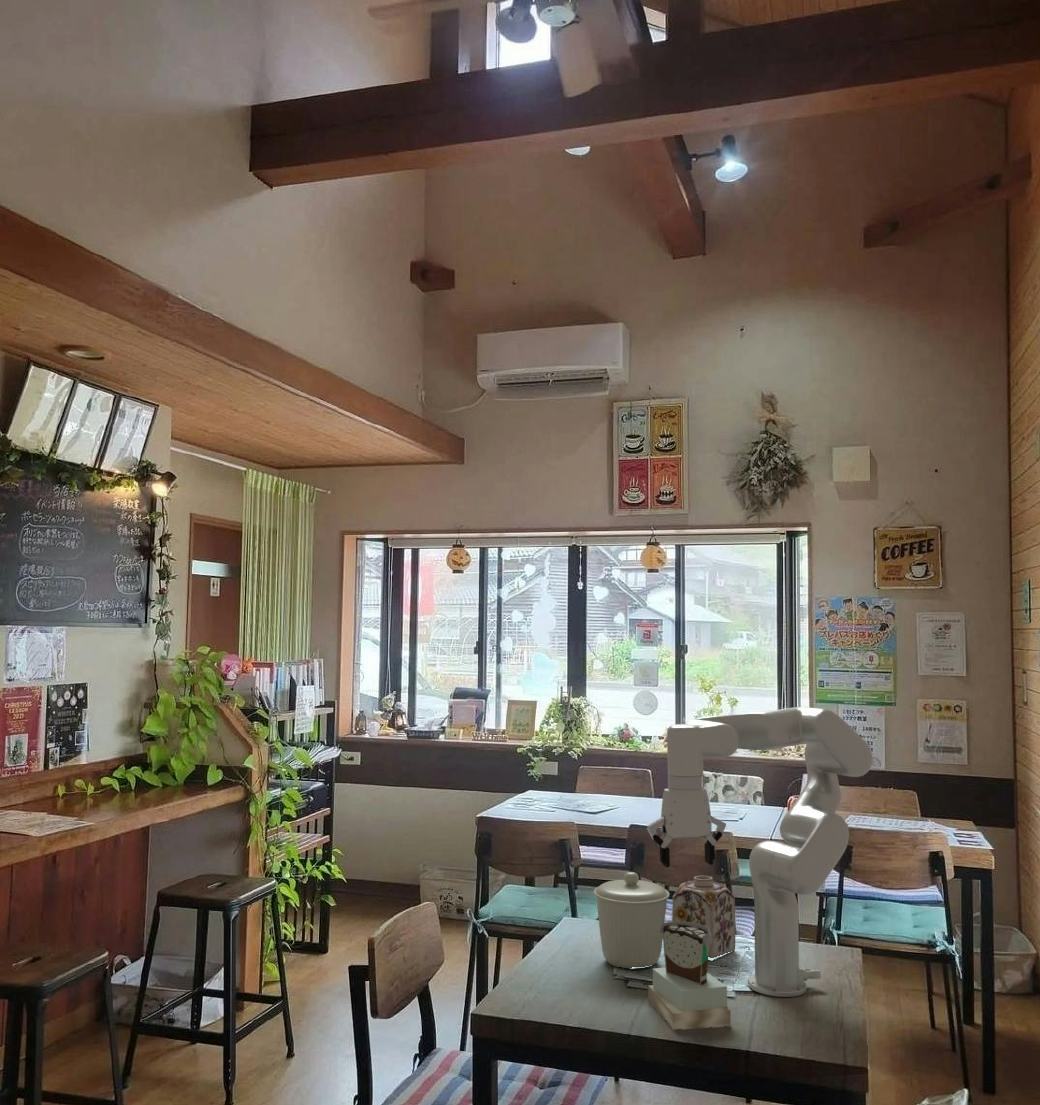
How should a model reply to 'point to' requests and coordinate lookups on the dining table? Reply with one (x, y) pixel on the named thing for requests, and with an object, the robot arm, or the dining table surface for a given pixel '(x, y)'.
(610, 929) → the canister
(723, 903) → the decorative jar
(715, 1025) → the lower slab
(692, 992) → the upper slab
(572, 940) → the dining table surface
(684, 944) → the food container
